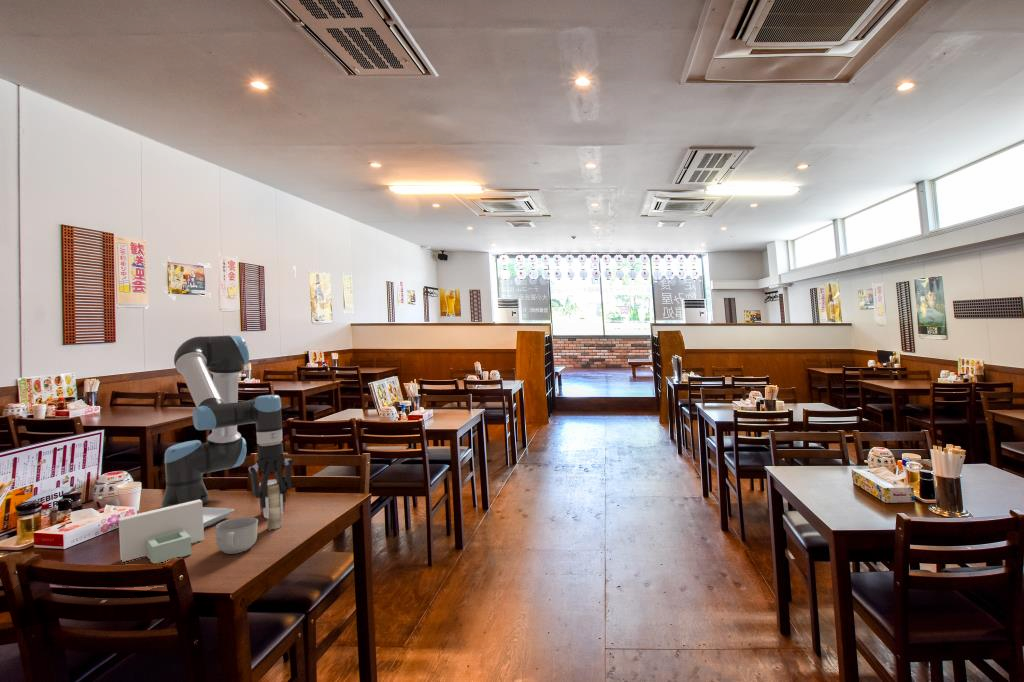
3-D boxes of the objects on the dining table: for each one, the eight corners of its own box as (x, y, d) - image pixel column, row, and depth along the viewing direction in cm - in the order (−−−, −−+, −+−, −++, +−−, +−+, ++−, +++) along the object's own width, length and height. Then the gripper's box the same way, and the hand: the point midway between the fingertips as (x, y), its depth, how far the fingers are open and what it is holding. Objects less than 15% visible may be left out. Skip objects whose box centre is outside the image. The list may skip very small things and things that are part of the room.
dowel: (265, 528, 160) (263, 485, 160) (278, 524, 163) (276, 482, 163) (270, 531, 157) (268, 487, 157) (283, 527, 160) (281, 484, 160)
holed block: (147, 556, 141) (146, 538, 141) (183, 545, 148) (183, 529, 148) (153, 565, 135) (152, 547, 135) (191, 554, 142) (190, 536, 141)
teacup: (228, 543, 149) (226, 517, 149) (265, 540, 150) (264, 514, 150) (203, 564, 135) (201, 535, 135) (244, 561, 136) (243, 532, 136)
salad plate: (236, 517, 173) (236, 507, 172) (183, 542, 152) (183, 531, 152) (186, 515, 177) (185, 505, 177) (128, 539, 156) (128, 528, 156)
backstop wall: (120, 560, 140) (118, 518, 140) (201, 537, 154) (199, 499, 154) (122, 563, 138) (120, 520, 138) (204, 539, 152) (202, 501, 152)
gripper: (245, 449, 151) (249, 525, 151) (300, 439, 163) (304, 510, 163) (237, 446, 156) (241, 520, 157) (291, 437, 168) (295, 505, 169)
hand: (273, 515), depth 160 cm, fingers closed on dowel, 4 cm apart
